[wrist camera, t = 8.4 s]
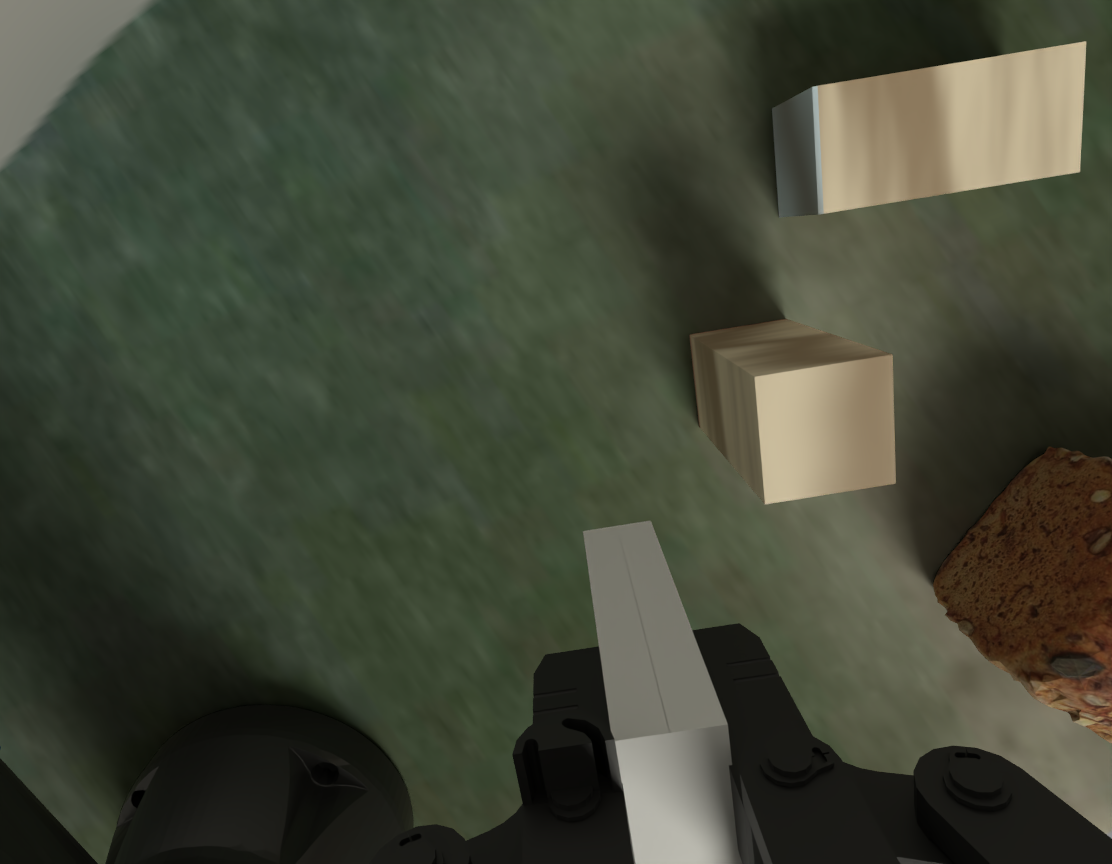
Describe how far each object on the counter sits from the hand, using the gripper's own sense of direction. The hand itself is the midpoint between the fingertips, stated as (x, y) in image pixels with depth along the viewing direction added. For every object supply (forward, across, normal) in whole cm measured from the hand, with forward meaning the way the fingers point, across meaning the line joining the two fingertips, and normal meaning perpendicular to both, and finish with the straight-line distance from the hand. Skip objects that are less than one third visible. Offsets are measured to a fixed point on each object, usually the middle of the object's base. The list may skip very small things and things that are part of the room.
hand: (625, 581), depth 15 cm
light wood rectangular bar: (+16, +10, +9) cm, 21 cm away
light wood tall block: (+18, +8, 0) cm, 20 cm away
